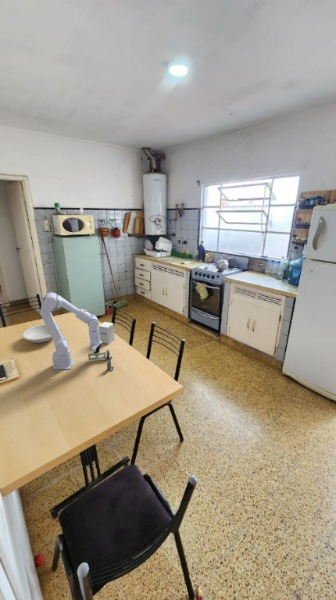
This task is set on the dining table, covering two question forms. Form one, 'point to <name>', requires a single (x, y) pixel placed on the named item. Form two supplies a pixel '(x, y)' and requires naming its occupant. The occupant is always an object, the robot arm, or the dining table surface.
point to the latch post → (109, 366)
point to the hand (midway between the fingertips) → (97, 355)
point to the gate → (97, 356)
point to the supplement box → (106, 332)
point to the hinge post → (108, 355)
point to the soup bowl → (37, 334)
